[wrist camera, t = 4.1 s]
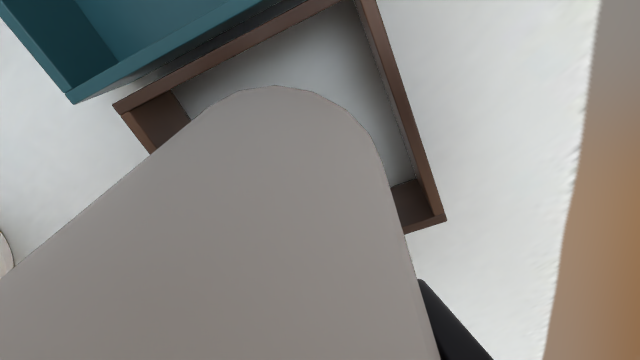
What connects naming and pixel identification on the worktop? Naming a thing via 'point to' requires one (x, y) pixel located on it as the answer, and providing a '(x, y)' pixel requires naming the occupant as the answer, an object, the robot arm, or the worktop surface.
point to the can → (230, 250)
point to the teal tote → (117, 36)
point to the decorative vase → (5, 257)
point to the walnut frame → (164, 109)
